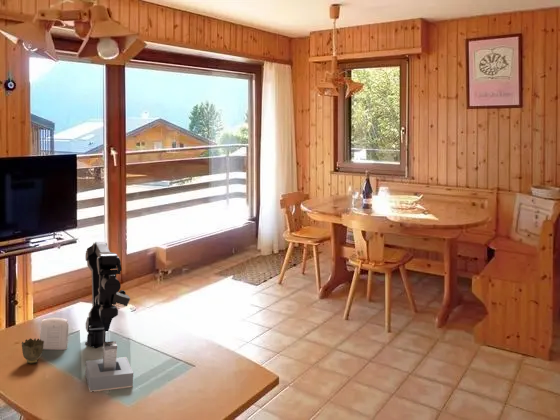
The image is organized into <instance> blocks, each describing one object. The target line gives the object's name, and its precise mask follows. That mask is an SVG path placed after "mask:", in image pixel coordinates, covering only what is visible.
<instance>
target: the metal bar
mask: <svg viewBox="0 0 560 420" xmlns="http://www.w3.org/2000/svg"><path fill="white" fill-rule="evenodd" d="M117 344H118V343H117V341H116V340H114V341H106V342H103V345H102V346H103V347H102V349H103V350H102V359H103V365H102V372H106V371H116V358H117V351H118V345H117Z"/></svg>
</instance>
